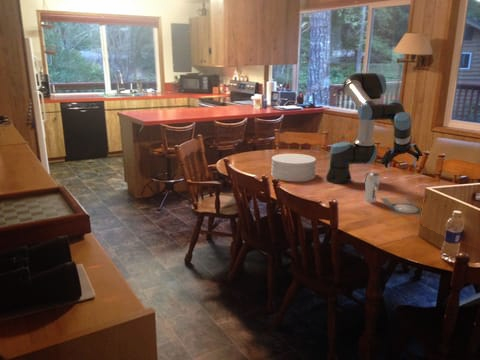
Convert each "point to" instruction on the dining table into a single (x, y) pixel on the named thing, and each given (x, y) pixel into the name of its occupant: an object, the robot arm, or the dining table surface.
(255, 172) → the dining table surface
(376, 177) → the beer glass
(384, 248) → the dining table surface
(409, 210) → the round coaster
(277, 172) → the plate stack
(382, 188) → the dining table surface
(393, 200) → the square tile
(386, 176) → the dining table surface
